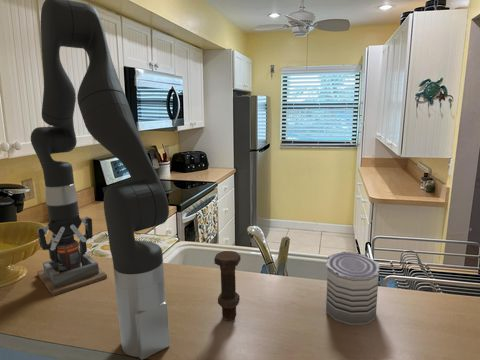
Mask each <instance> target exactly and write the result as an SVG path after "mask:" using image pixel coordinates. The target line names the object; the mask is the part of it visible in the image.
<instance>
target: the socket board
mask: <svg viewBox="0 0 480 360" xmlns="http://www.w3.org/2000/svg"><path fill="white" fill-rule="evenodd" d="M80 257H81V265H82V267H78V268H75V269H72V270H68V271H65V272H62V273H59V269H58V263H57V262H56V263H54V262H53V261H52V260H51V259H50V260H48V261H44V262H42V266H43V269H41V270H37V273H36V274H37V276H38V277H39V279H40V280H41V281H42V283H43V284H44V286H45V287H46V288H47V290H48V291H49V293H50V294H51V295H52V296H53V297H54V296H56V295H61V294H63V293H66V292H69V291H72V290H75V289H78V288H81V287H84V286H86V285H90V284H92V283H96V282H99V281H102V280H105V279H108V274H107V273H106V272H104V271H103V270H102V269H101V268H100V267H99V263H98V262H97V261H96V260H95V259H93V257H91V256H90V255H89V254H88V253H87V252H85V255H82V254H81V253H80Z"/></svg>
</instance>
